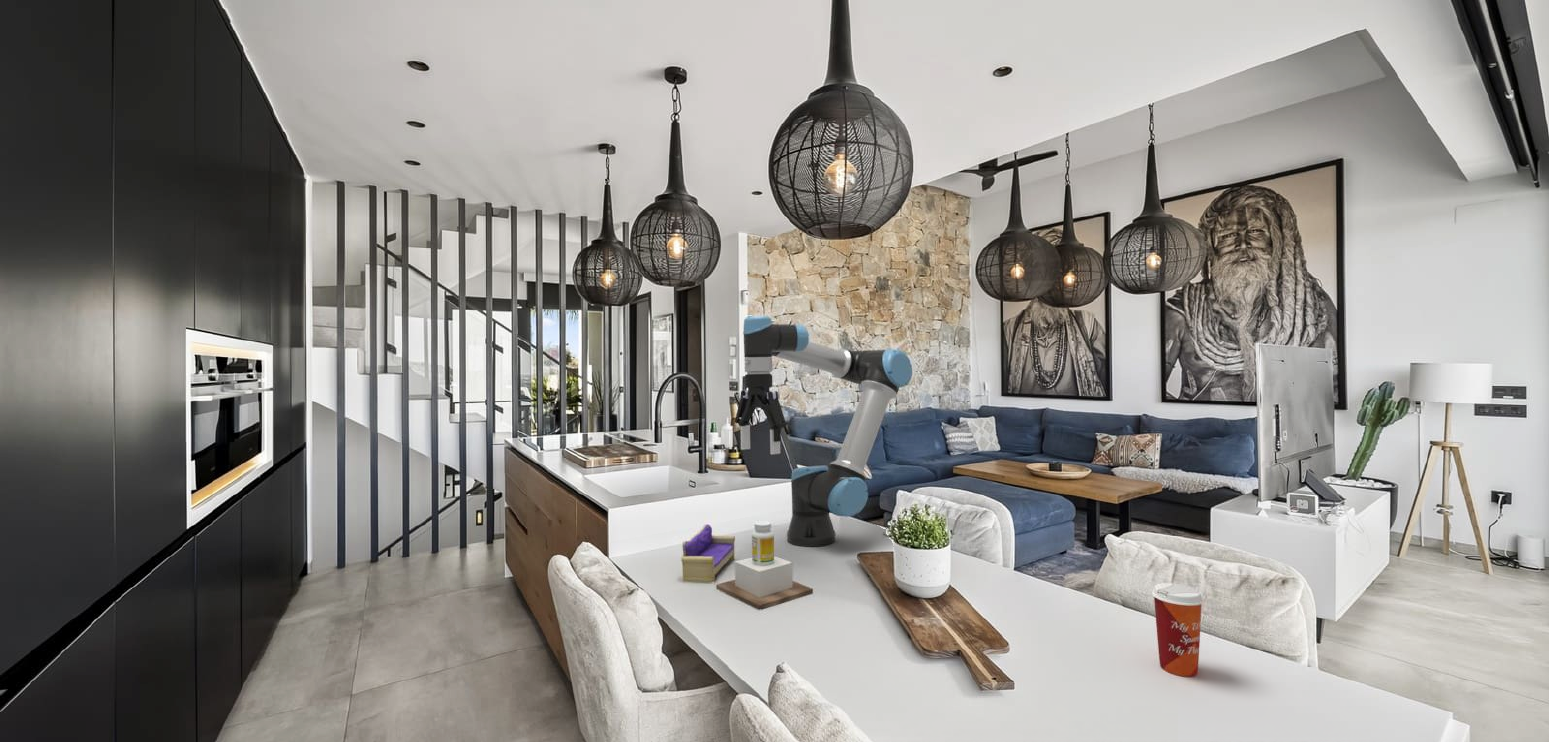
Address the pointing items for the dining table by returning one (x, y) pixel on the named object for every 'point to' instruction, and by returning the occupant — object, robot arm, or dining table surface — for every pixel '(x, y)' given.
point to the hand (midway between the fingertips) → (760, 451)
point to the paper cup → (1178, 627)
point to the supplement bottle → (763, 544)
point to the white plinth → (763, 576)
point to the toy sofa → (706, 555)
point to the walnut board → (767, 600)
